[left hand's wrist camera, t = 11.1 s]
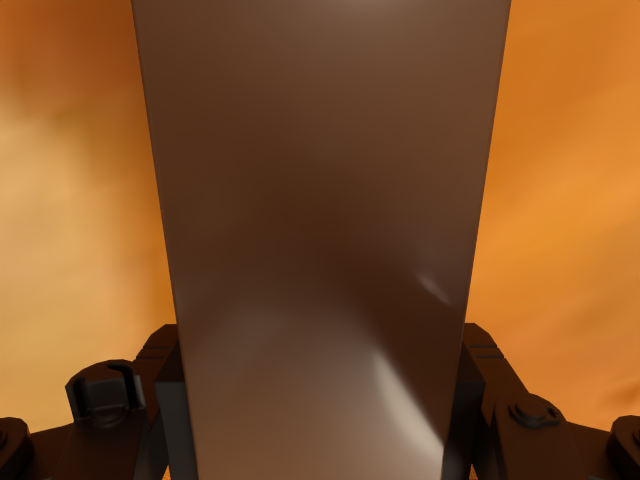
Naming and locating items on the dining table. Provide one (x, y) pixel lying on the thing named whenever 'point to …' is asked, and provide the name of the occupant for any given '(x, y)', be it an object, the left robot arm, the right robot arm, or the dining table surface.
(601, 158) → the dining table surface
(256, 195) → the beam
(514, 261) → the dining table surface
